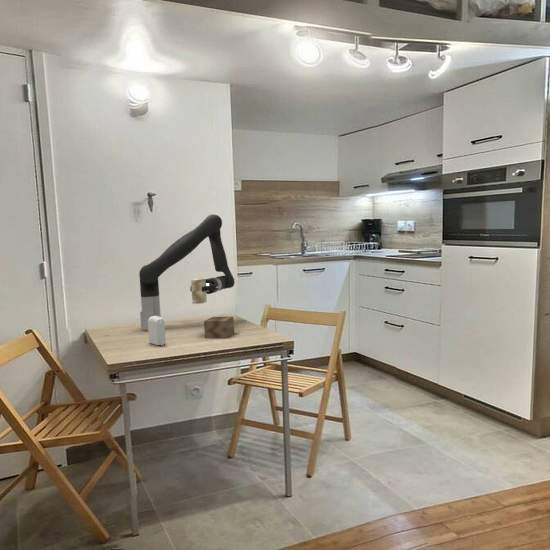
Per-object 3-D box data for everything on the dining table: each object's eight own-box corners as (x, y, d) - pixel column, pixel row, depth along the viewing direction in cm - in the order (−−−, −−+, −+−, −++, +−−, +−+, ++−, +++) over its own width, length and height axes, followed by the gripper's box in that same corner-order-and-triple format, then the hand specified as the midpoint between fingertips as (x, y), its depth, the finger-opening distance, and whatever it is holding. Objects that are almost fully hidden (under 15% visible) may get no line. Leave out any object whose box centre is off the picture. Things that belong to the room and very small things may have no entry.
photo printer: (147, 343, 207) (146, 315, 206) (156, 341, 210) (155, 314, 209) (158, 346, 199) (156, 317, 198) (167, 344, 202) (165, 316, 201)
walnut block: (204, 338, 213) (203, 321, 212) (214, 333, 225) (213, 316, 224) (225, 338, 211) (224, 321, 210) (234, 333, 222) (233, 316, 222)
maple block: (192, 303, 217) (191, 280, 216) (197, 302, 222) (195, 279, 221) (202, 303, 216) (200, 279, 215) (206, 302, 221) (205, 278, 220)
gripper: (198, 278, 234) (182, 281, 218) (224, 277, 230) (210, 281, 214) (199, 293, 235) (183, 297, 219) (225, 292, 231) (211, 297, 214)
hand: (197, 289), depth 216 cm, fingers closed on maple block, 5 cm apart
